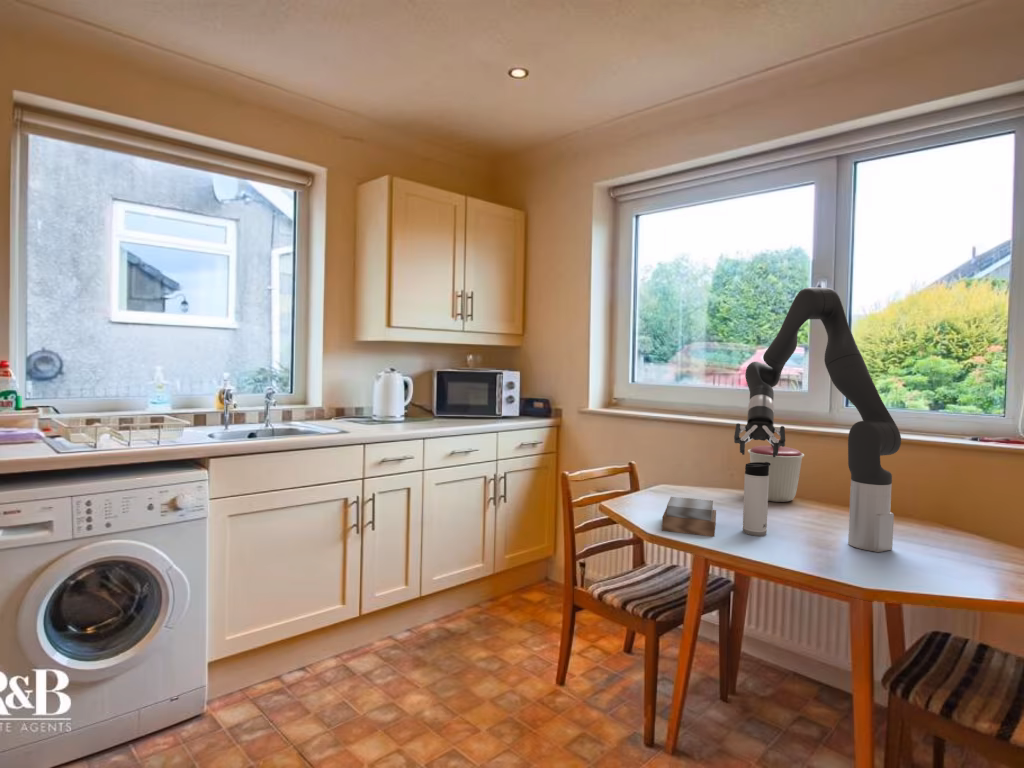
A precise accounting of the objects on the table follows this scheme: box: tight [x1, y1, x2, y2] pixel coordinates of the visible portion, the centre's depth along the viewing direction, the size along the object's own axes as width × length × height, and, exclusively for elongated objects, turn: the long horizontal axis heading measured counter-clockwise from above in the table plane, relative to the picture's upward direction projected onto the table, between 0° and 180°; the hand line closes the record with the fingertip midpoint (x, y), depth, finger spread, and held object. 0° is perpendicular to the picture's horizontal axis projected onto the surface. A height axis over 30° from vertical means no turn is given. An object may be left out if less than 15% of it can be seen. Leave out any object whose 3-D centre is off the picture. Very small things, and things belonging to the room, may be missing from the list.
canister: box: [747, 438, 805, 503], centre depth 213 cm, size 18×18×21 cm
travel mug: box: [742, 462, 770, 537], centre depth 170 cm, size 6×7×20 cm
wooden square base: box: [661, 496, 717, 537], centre depth 175 cm, size 14×14×7 cm
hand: (758, 454), depth 180 cm, fingers open, 8 cm apart
